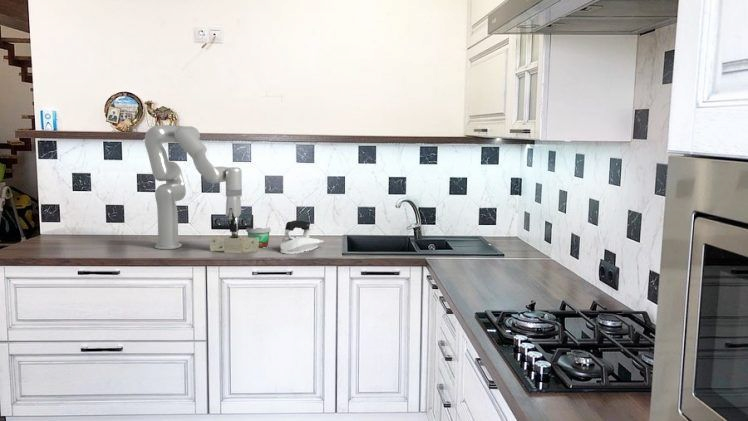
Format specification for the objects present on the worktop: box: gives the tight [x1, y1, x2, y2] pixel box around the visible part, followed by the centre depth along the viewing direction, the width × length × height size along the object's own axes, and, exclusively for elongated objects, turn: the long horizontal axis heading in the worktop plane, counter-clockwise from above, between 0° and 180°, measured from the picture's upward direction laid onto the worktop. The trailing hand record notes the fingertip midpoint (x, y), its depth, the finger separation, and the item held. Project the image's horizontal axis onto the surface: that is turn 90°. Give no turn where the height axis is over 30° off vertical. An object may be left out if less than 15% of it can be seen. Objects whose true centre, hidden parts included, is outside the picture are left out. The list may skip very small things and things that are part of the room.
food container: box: [245, 227, 272, 249], centre depth 324 cm, size 12×6×10 cm, turn 105°
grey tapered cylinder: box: [231, 216, 239, 238], centre depth 312 cm, size 4×4×13 cm
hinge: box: [209, 235, 260, 254], centre depth 313 cm, size 24×8×7 cm, turn 85°
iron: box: [279, 219, 325, 255], centre depth 319 cm, size 11×24×15 cm, turn 146°
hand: (234, 230), depth 312 cm, fingers closed on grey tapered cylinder, 3 cm apart
